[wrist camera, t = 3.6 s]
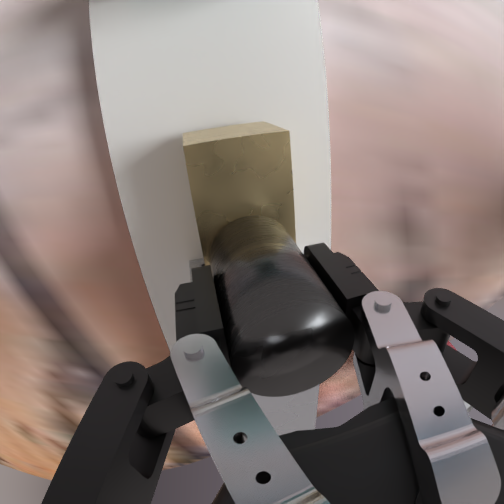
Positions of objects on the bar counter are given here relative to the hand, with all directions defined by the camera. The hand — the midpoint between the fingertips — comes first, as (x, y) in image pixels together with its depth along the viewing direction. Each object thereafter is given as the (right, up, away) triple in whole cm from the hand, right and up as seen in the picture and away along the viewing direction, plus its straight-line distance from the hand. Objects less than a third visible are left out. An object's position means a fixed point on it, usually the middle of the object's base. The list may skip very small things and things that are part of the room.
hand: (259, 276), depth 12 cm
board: (-2, +4, +7) cm, 9 cm away
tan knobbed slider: (-1, -2, +7) cm, 8 cm away
